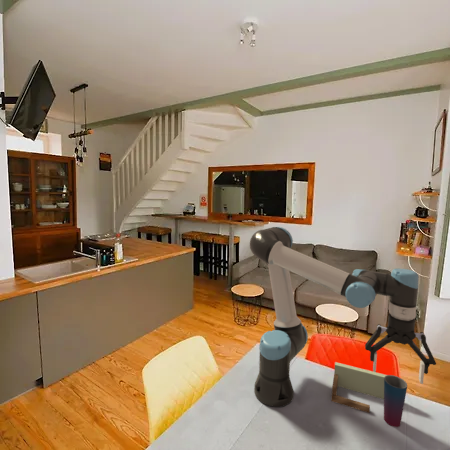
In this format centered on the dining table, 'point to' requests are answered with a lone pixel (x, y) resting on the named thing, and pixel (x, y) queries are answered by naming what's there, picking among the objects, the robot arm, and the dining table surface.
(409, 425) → the dining table surface
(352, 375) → the wall board
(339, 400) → the bracket
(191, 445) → the dining table surface
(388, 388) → the cup
